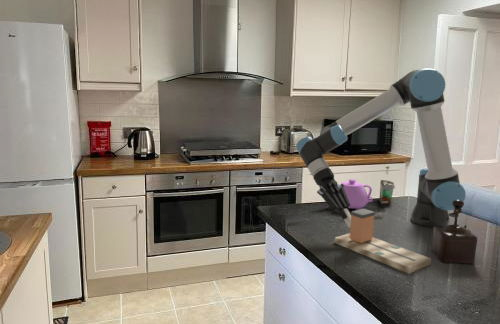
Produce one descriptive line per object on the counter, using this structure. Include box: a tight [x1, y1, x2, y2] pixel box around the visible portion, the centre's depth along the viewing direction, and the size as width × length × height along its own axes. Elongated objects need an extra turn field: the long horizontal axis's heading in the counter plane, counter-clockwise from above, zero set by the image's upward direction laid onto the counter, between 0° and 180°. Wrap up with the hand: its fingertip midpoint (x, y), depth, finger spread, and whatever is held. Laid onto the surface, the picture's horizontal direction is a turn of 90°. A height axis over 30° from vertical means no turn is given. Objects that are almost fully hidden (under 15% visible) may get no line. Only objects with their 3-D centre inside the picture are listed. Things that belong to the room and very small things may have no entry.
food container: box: [379, 179, 396, 205], centre depth 200 cm, size 12×6×10 cm, turn 168°
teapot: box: [340, 178, 374, 211], centre depth 189 cm, size 22×16×14 cm
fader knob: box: [349, 208, 376, 243], centre depth 143 cm, size 5×7×10 cm
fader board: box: [334, 232, 432, 275], centre depth 138 cm, size 30×12×2 cm, turn 37°
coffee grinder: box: [431, 200, 478, 265], centre depth 137 cm, size 16×11×18 cm
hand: (352, 225), depth 146 cm, fingers closed
